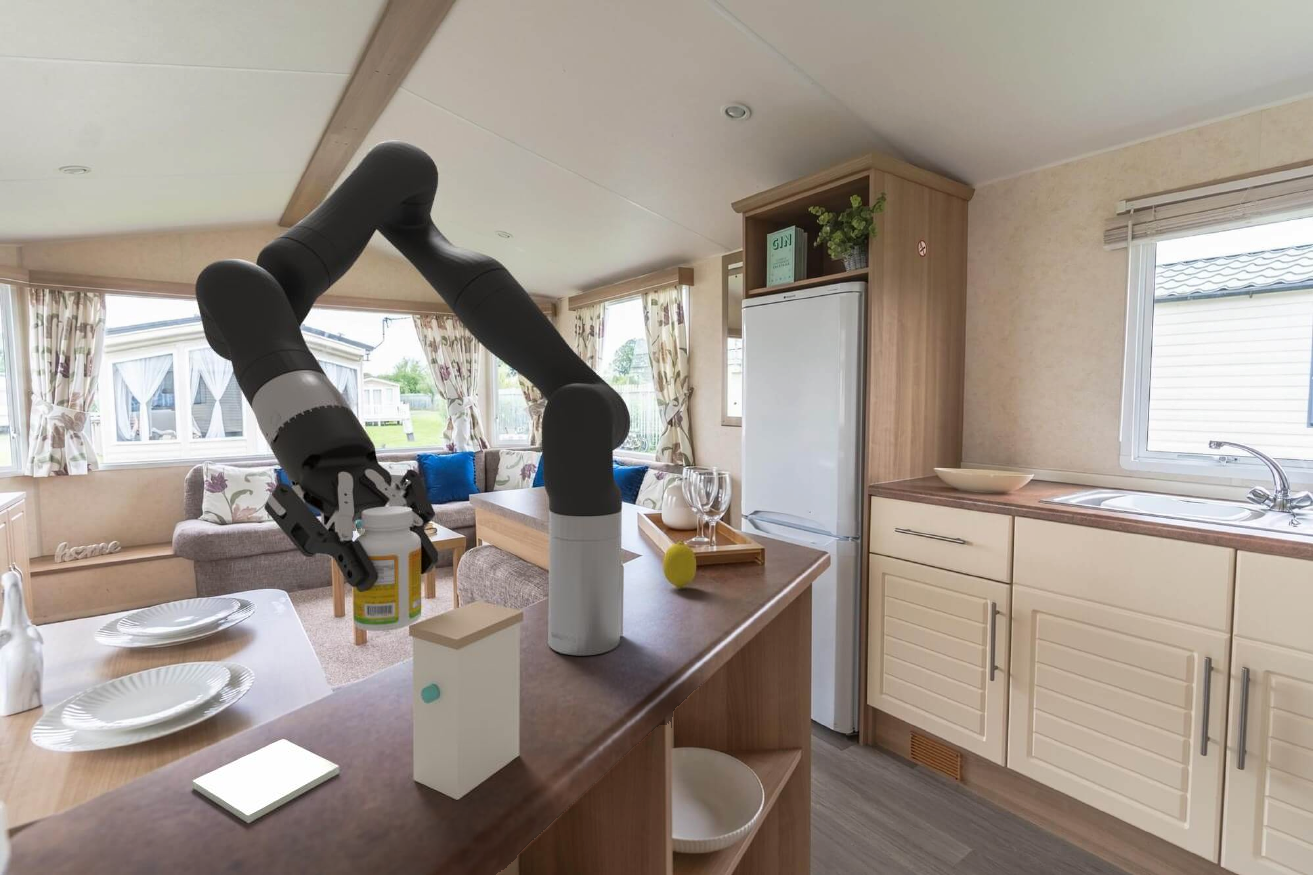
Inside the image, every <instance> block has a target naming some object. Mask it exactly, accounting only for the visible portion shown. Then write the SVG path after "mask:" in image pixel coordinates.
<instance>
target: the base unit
mask: <svg viewBox="0 0 1313 875" xmlns="http://www.w3.org/2000/svg"><path fill="white" fill-rule="evenodd" d="M523 621H524V611H523V610H520V609H515V608H510V607H506V606H502V605H497V604H494V603H489V602H484V601H481V600H475V601H472V602H470V603H468V604H465V605H462V606H460V607H457V608H455V609H451V610H449V611H446V612H443V613H440V614H438V615H436V616H435V615H434V616H432V617H430V618H427V619H425V620H421V621H419V622H418V621H417V622H415V623H413V624H411V625H408V634H409V635H408V636H409V637H411V638H412V685H413V686H412V692H413V693H412V697H413V699H412V700H413V701H412V702H413V705H412V706H413V709H412V711H413V712H412V715H413V716H412V719H413V722H412V723H413V724H412V725H413V726H412V727H413V728H412V730H413V731H412V732H413V734H412V735H413V740H412V741H413V781H415V782H417V783H420V784H422V785H424V786H427V787H428V788H430V789H432V790H435V791H437V792H439V793H442V794H444V795H445V796H448V797H450V798H452V799H454V800H457V801H458V800H460V799H461V798H463V797H464V796H465V795H467V794H468V793H470V792H471V791H473V789H475V788H476V787H478V786H479V785H481V784H482V783H483V782H485V781H486V780H488V779H489V778H490V777H491V776H493V775H494V774H496V772H498V771H500V770H501V769H503V768H504V767H506V766H507V765H508V764H510V763H511V762H512V761H513V760H514V759H516V758H517V757H519V756H520V691H521V690H520V684H521V683H520V680H521V678H520V676H521V675H520V674H521V673H520V672H521V671H520V670H521V667H520V666H521V664H520V663H521V662H520V658H521V656H520V654H521V652H520V651H521V650H520V649H521V643H520V642H521V641H520V640H521V639H520V638H521V622H523Z"/></svg>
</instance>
